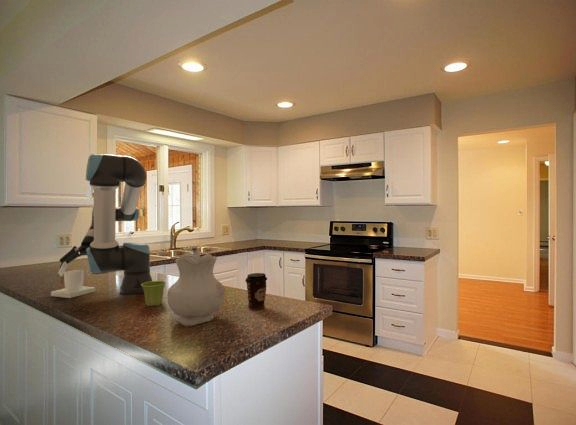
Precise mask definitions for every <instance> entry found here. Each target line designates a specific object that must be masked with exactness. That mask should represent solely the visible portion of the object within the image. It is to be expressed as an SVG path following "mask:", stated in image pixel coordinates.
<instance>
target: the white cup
mask: <svg viewBox="0 0 576 425" xmlns="http://www.w3.org/2000/svg"><path fill="white" fill-rule="evenodd" d="M84 273H85V272H84V270H83V269H75V270H67V271H66V270H65V272H64V273H63V278H64V289H65V290H66V293H73V292H77V291H81V290H83V286H84Z"/></svg>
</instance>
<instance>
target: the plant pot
mask: <svg viewBox="0 0 576 425" xmlns="http://www.w3.org/2000/svg"><path fill="white" fill-rule="evenodd" d="M166 283H167V282H166V281H163V280H156V281H155V280H152V281H151V282H146V283H143V284H141V286H142V287H143V290H144V293H143V294H144V295H143V296H144V300H145V301H144V302H145V306H146V307H152V306H155V307H158V306H160V305H162V303H163V297H164V290H165V286H166Z"/></svg>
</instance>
